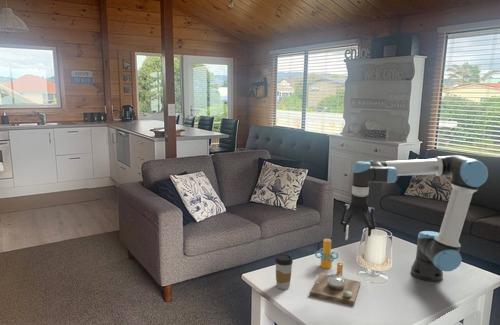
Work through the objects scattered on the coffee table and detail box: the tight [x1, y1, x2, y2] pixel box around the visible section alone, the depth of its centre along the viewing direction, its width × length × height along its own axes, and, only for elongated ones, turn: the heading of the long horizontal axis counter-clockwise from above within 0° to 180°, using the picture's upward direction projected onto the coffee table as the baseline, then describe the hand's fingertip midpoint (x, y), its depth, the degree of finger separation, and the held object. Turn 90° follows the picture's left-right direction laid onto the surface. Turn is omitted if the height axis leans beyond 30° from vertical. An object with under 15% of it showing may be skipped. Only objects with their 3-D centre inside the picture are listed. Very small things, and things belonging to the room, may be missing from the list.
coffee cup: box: [274, 253, 293, 290], centre depth 186 cm, size 8×8×15 cm
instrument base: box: [309, 273, 361, 306], centre depth 184 cm, size 20×20×4 cm
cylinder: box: [314, 238, 339, 269], centre depth 208 cm, size 12×10×15 cm
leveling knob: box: [327, 262, 346, 290], centre depth 185 cm, size 13×8×8 cm, turn 157°
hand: (356, 240), depth 184 cm, fingers open, 9 cm apart
